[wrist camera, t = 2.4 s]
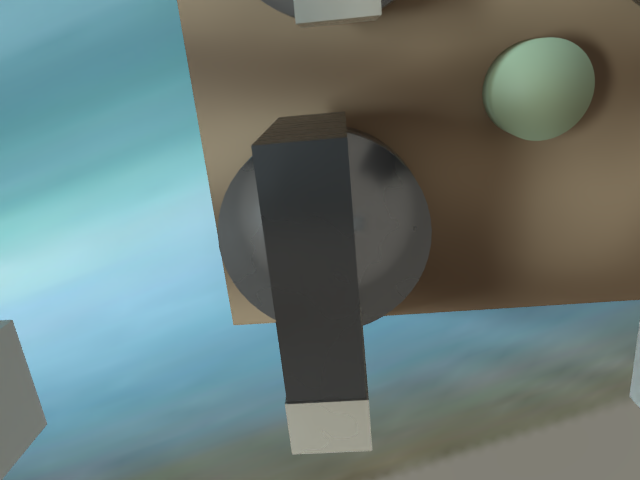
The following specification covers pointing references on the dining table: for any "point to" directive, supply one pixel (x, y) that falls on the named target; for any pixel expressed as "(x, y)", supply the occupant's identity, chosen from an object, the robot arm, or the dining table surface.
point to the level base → (455, 131)
